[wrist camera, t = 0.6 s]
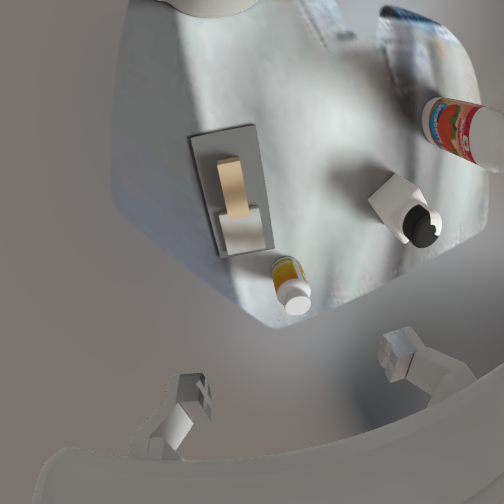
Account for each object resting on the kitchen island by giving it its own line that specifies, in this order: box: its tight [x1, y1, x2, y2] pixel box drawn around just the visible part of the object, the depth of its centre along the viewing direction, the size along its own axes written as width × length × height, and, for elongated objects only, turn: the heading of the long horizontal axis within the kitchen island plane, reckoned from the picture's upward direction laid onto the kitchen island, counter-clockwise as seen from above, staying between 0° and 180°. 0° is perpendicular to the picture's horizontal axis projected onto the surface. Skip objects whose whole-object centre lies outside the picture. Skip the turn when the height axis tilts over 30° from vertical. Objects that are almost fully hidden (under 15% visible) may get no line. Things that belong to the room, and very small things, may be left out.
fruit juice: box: [422, 97, 504, 175], centre depth 24 cm, size 9×9×28 cm
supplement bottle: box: [271, 257, 311, 315], centre depth 45 cm, size 5×5×10 cm
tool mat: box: [191, 125, 275, 258], centre depth 40 cm, size 20×9×1 cm, turn 9°
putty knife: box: [217, 156, 266, 255], centre depth 40 cm, size 15×6×3 cm, turn 9°
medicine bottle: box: [368, 174, 442, 248], centre depth 38 cm, size 7×7×12 cm
